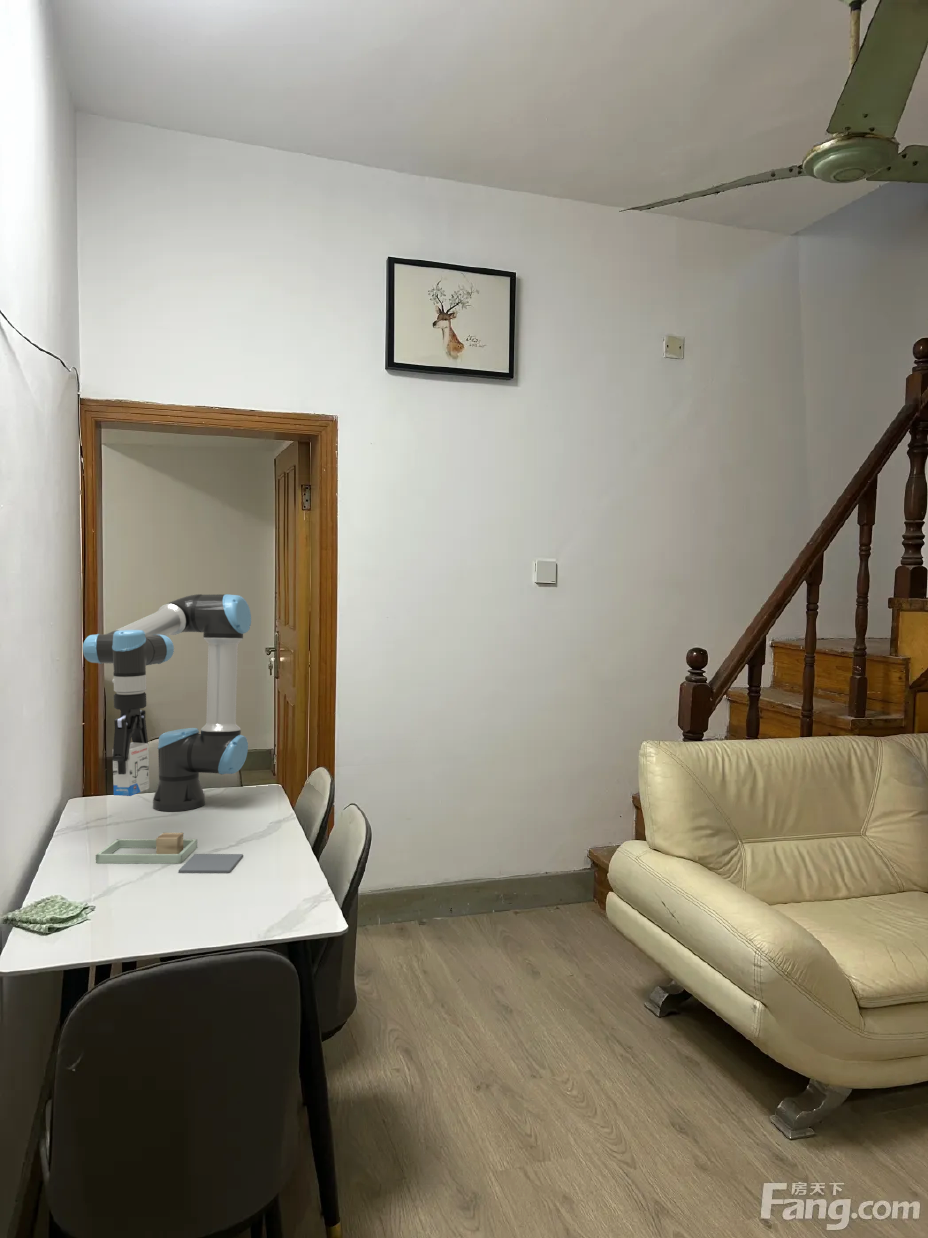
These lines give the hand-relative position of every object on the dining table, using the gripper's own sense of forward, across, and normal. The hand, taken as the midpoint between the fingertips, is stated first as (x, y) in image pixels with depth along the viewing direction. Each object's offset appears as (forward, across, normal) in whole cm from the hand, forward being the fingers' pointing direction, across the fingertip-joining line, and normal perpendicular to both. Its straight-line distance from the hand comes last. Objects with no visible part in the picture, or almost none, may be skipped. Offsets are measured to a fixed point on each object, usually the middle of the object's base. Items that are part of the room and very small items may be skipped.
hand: (131, 781), depth 209 cm
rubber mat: (+18, +7, +22) cm, 30 cm away
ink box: (+3, 0, 0) cm, 3 cm away
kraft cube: (+19, 0, +9) cm, 21 cm away
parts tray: (+18, 0, +4) cm, 19 cm away
